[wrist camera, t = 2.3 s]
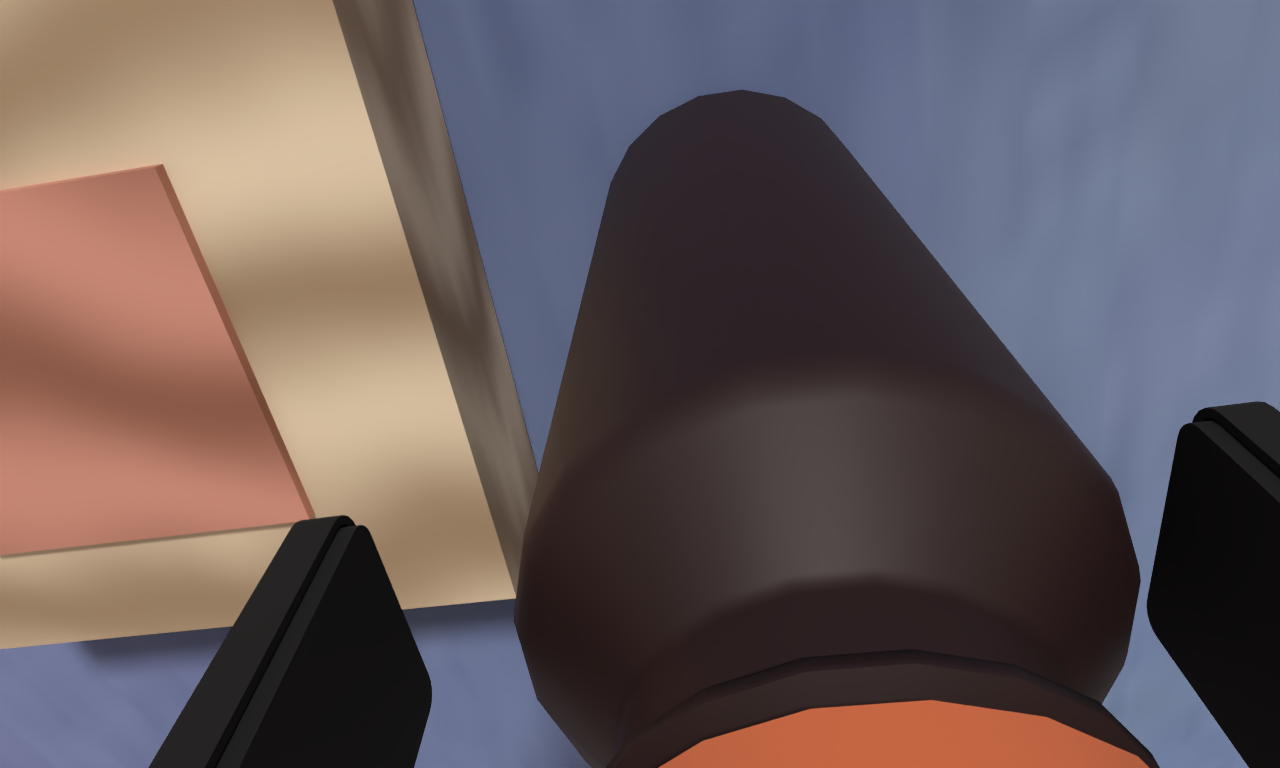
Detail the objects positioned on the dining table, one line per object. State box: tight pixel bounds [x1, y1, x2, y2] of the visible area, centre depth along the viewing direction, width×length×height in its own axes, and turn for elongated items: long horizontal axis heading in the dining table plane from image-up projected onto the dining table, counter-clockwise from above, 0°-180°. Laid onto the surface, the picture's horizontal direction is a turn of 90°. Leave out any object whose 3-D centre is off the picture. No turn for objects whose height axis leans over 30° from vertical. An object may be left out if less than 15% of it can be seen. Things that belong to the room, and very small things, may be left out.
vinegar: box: [514, 90, 1160, 768], centre depth 13 cm, size 7×7×20 cm
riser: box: [0, 0, 539, 649], centre depth 21 cm, size 16×18×5 cm
